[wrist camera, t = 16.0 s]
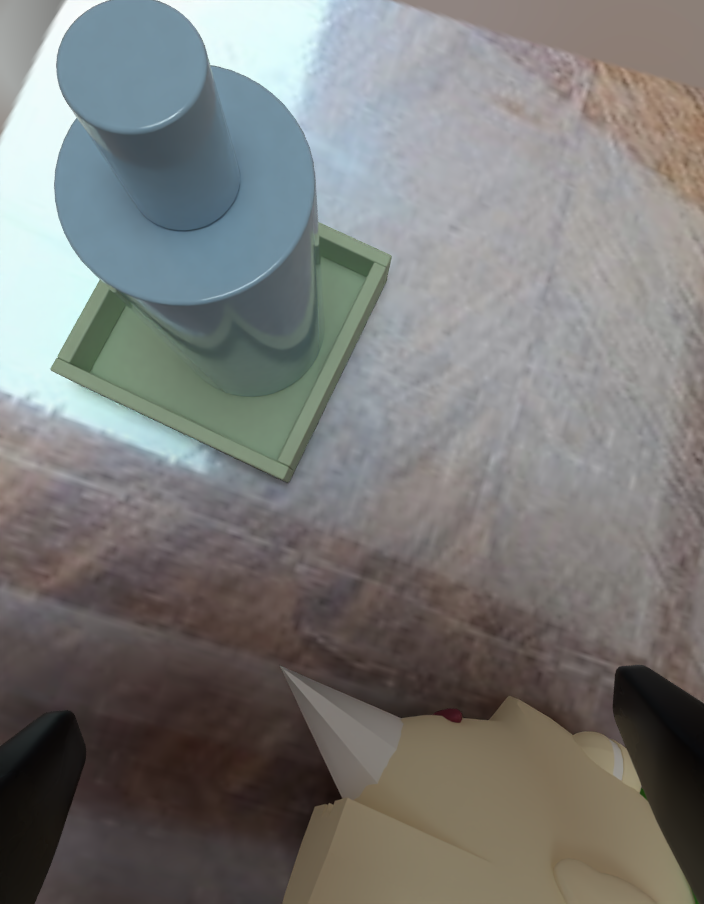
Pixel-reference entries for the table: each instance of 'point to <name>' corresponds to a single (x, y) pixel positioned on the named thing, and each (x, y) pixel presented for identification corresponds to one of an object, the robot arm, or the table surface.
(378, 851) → the cartoon head
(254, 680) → the table surface
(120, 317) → the tray
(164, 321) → the bottle
